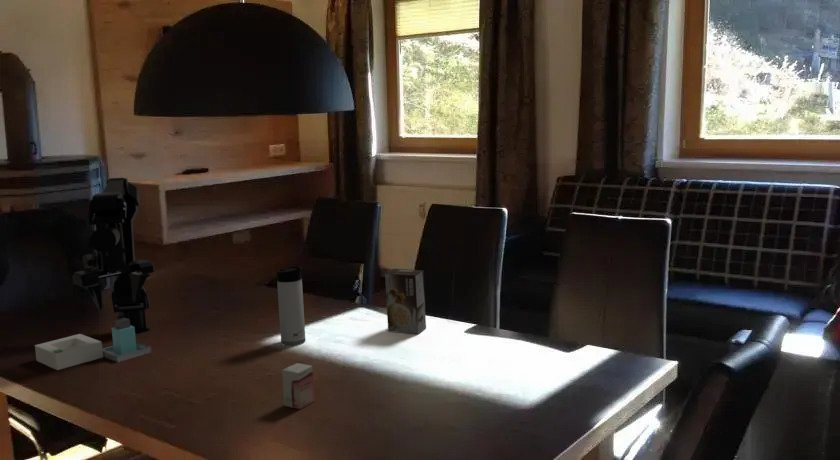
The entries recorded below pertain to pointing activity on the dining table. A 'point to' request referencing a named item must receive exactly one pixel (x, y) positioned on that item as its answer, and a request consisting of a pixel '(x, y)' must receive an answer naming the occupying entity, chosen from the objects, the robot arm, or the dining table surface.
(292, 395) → the small box
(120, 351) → the plug
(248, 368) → the dining table surface
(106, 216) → the robot arm
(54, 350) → the frame
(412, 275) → the coffee box
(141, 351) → the open square ring
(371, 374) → the dining table surface
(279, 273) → the travel mug
